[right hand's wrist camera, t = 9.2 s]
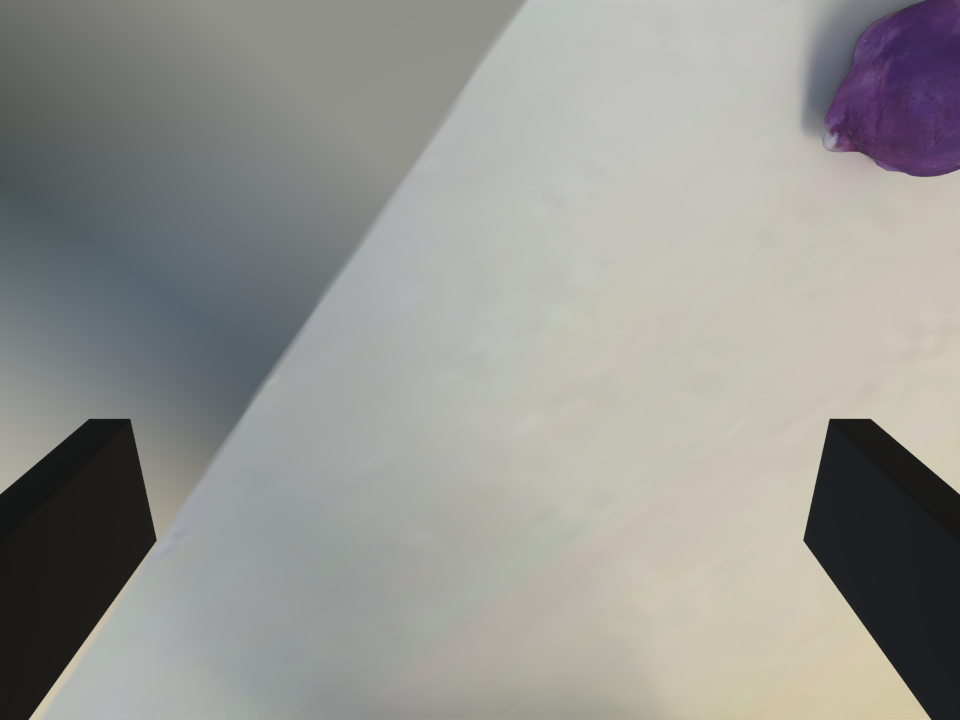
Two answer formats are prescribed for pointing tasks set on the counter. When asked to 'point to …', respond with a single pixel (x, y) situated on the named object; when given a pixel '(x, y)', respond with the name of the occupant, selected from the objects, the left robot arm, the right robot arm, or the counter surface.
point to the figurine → (903, 92)
